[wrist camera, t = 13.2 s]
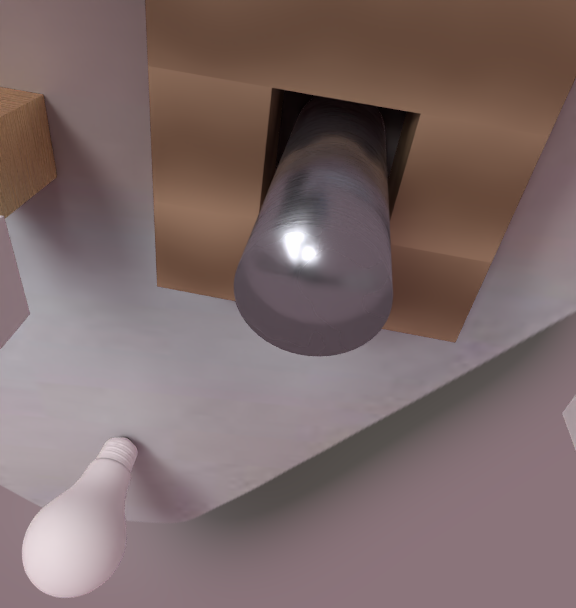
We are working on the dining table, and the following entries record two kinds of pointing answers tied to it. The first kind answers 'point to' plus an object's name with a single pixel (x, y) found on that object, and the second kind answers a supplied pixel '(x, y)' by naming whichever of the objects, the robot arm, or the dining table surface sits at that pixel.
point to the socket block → (367, 90)
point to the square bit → (23, 148)
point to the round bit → (322, 236)
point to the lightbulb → (82, 527)
